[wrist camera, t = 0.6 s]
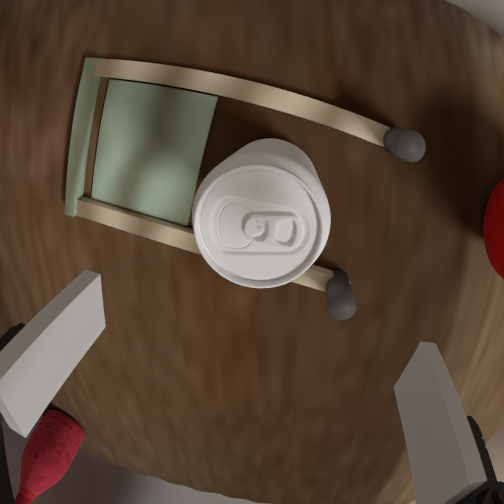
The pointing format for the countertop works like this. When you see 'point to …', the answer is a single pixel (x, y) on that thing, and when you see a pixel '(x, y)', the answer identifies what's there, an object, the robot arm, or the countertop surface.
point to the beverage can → (262, 215)
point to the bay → (185, 151)
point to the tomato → (495, 228)
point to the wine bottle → (48, 454)
